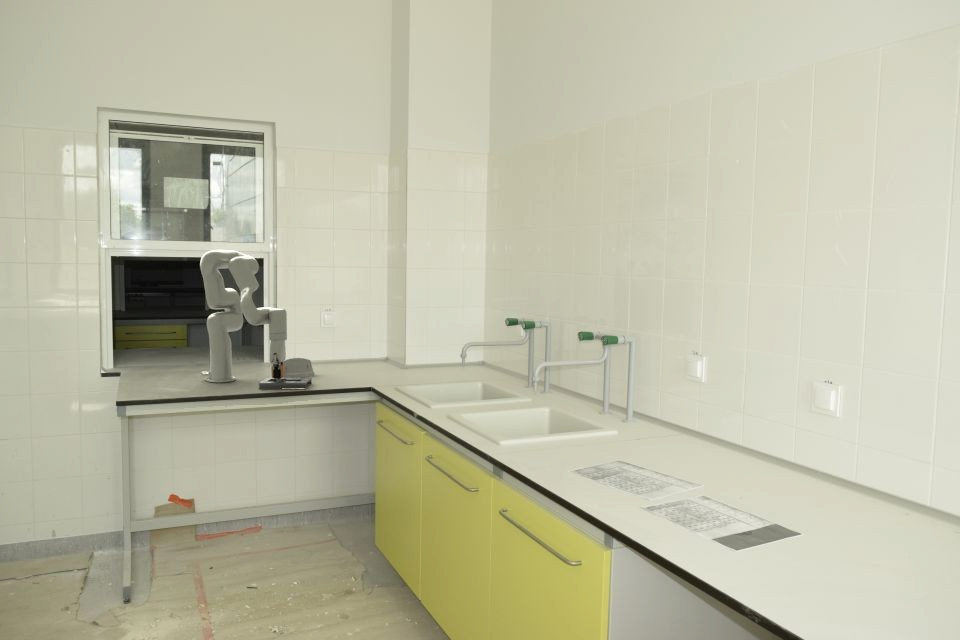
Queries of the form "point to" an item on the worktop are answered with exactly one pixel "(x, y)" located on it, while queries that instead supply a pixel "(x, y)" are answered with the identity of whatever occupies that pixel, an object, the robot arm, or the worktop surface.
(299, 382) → the keyhole plate
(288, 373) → the grey arched block
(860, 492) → the worktop surface
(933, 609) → the worktop surface
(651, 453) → the worktop surface
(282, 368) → the t peg
